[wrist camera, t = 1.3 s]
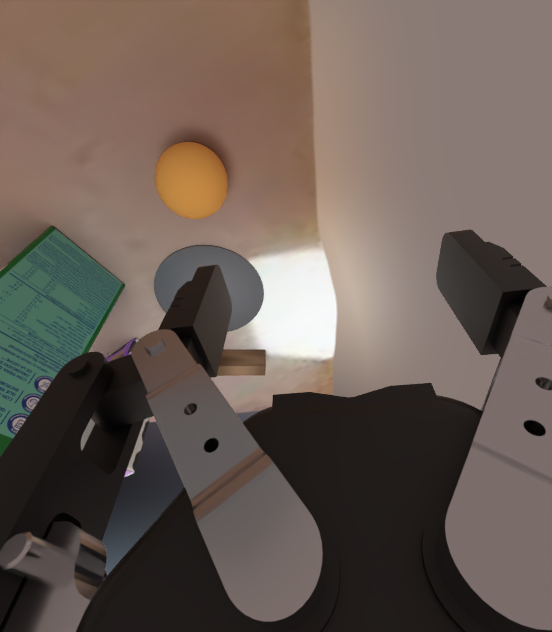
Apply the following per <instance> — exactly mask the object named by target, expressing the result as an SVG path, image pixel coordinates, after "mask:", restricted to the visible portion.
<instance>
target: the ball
mask: <svg viewBox="0 0 552 632" xmlns="http://www.w3.org/2000/svg"><path fill="white" fill-rule="evenodd" d="M155 184H156V188H157V191H158V194H159V196H160V198H161V199H162V201H163V202H164V204H165V205H166V206H167V207H168V208H169V209H170V210H172V211H173V212H174V213H176V214H178V215H180V216H182V217H185V218H189V219H201V218H205V217H208V216H210V215H212V214H213V213H215V212H216V211H217V210H218V209H219V208H220V207H221V206H222V204H223V203H224V200H225V198H226V195H227V191H228V178H227V173H226V170H225V168H224V166H223V164H222V162H221V160H220V159H219V158H218V156H217V155H216V154H215V153H214V152H213V151H211V150H210V149H209V148H207V147H205V146H203V145H201V144H198V143H194V142H181V143H177V144H175V145H173V146H171V147H169V148H168V149H167V150H165V151H164V153H163V154H162V155H161V157H160V158H159V160H158V162H157V165H156V169H155Z"/></svg>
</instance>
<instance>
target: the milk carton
mask: <svg viewBox="0 0 552 632" xmlns="http://www.w3.org/2000/svg"><path fill="white" fill-rule="evenodd" d="M124 287H125V285H124V284H123V283H122V282H121V281H119V280H118V279H117V278H116V277H114V276H113V275H112V274H111V273H109V272H108V271H107V270H106V269H105V268H103V267H102V266H101V265H100V264H98V263H97V262H96V261H95V260H93V259H92V258H91V257H90V256H89V255H87V254H86V253H85V252H84V251H82V250H81V249H80V248H79V247H77V246H76V245H75V244H74V243H73V242H71V241H70V240H69V239H68V238H66V237H65V236H64V235H63V234H62V233H60V232H59V231H58V230H57V229H55V228H54V227H53V226H51V227H50V228H48V229H47V230H46V231H45V232H44V233H43V234H41V235H40V236H39V237H38V238H37V239H36V240H34V241H33V242H32V243H31V244H30V245H29V246H27V247H26V248H25V249H24V250H23V251H22V252H21V253H19V254H18V255H17V256H16V257H15V258H14V259H12V260H11V261H10V262H9V263H8V264H7V265H5V266H4V267H3V268H2V269H1V270H0V457H1V455H2V454H3V453H4V451H5V450H6V448H7V447H8V445H9V444H10V442H11V441H12V439H13V438H14V436H15V435H16V434H17V432H18V431H19V429H20V428H21V426H22V425H23V423H24V422H25V420H26V419H27V417H28V416H29V414H30V413H31V412H32V410H33V409H34V407H35V406H36V404H37V403H38V401H39V400H40V398H41V397H42V395H43V394H44V393H45V391H46V390H47V388H48V387H49V385H50V384H51V382H52V381H53V379H54V378H55V376H56V375H57V374H58V372H59V371H60V370H61V368H62V367H63V366H64V365H66V364H67V363H68V362H69V361H71V360H72V359H74V358H76V357H78V356H80V355H82V354H85V353H88V351H89V350H90V348H91V346H92V344H93V342H94V341H95V339H96V337H97V335H98V333H99V332H100V330H101V328H102V326H103V324H104V323H105V321H106V319H107V317H108V315H109V314H110V312H111V310H112V308H113V306H114V305H115V303H116V301H117V299H118V297H119V296H120V294H121V292H122V290H123V288H124Z"/></svg>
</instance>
